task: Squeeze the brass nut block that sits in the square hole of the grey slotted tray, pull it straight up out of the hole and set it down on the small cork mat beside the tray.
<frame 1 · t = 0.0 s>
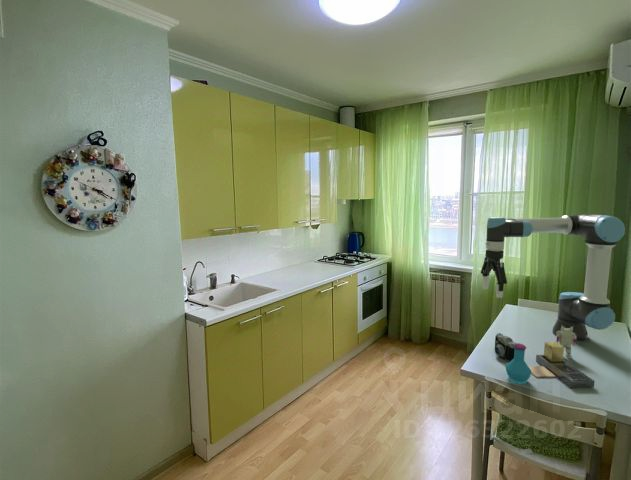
hand: (492, 293, 168), 28 cm above the table, fingers open, 13 cm apart
grey slotted tray: (562, 373, 147), on the table
cork mat: (539, 372, 148), on the table
nut block: (552, 365, 154), resting in grey slotted tray
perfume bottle: (517, 379, 143), on the table
camera: (502, 356, 163), on the table
figurine: (563, 356, 162), on the table
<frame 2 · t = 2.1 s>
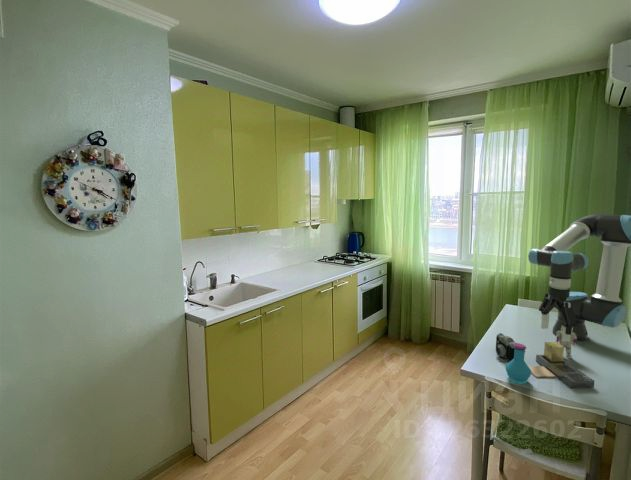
hand: (554, 334, 151), 15 cm above the table, fingers open, 13 cm apart
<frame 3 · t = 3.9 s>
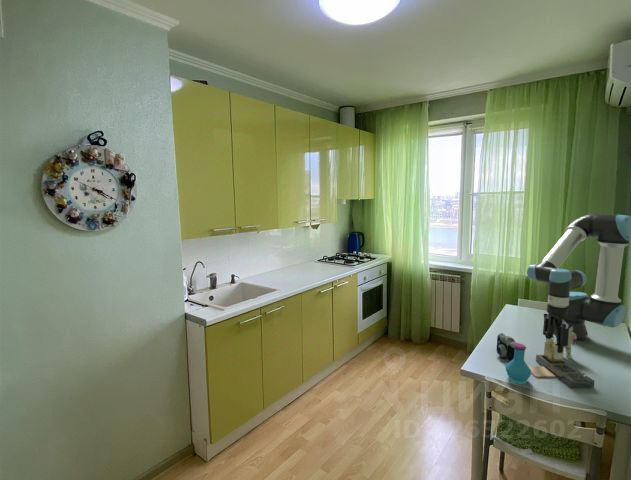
hand: (553, 355, 153), 5 cm above the table, fingers closed on nut block, 5 cm apart
nut block: (552, 365, 154), resting in grey slotted tray, touching gripper
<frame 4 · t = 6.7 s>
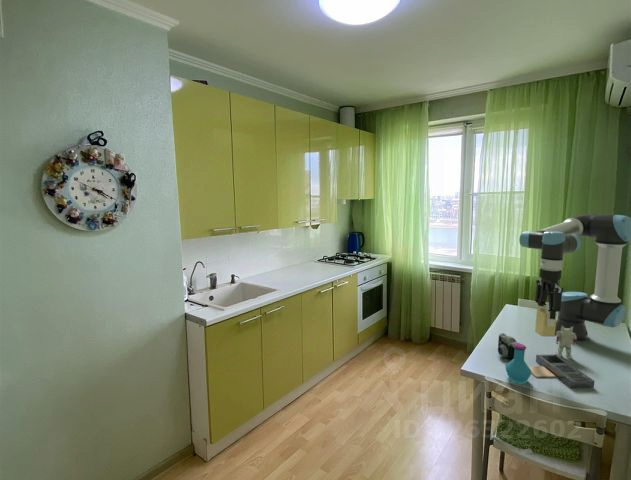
hand: (545, 323, 146), 22 cm above the table, fingers closed on nut block, 5 cm apart
nut block: (544, 334, 147), point 17 cm above the table, touching gripper
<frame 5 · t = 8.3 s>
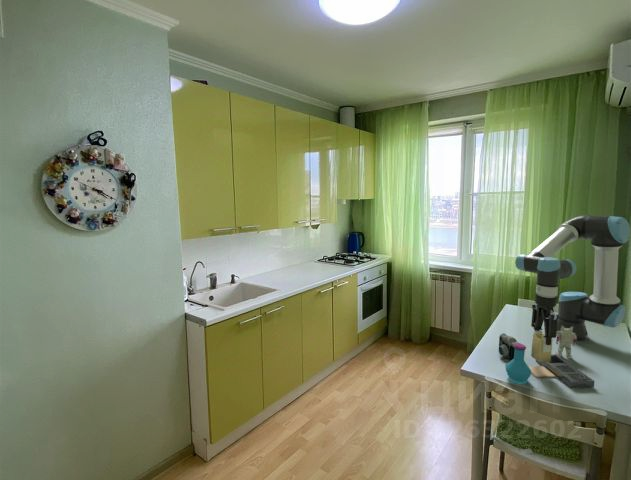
hand: (541, 348, 147), 11 cm above the table, fingers closed on nut block, 5 cm apart
nut block: (540, 358, 147), point 6 cm above the table, touching gripper
when the fingers open (7 cm above the table, at t = 9.6 s): nut block drops 2 cm, resting on cork mat.
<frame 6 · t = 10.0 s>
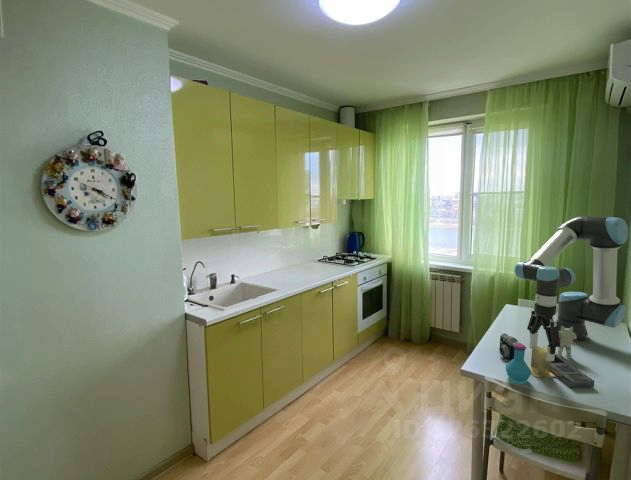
hand: (541, 354, 147), 8 cm above the table, fingers open, 10 cm apart
nut block: (540, 371, 148), point 1 cm above the table, touching cork mat
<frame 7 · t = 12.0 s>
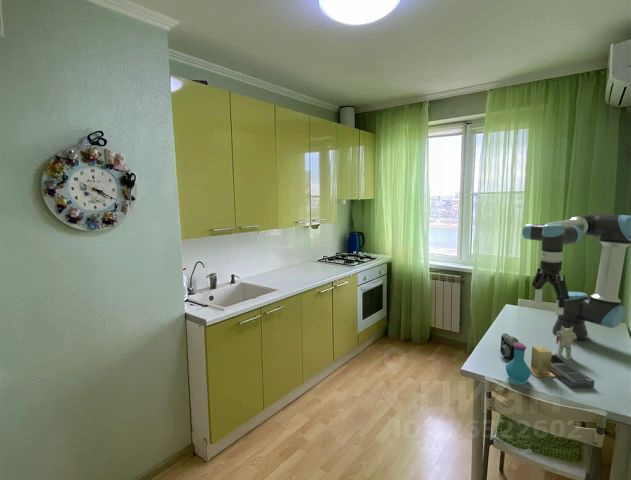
hand: (548, 308, 150), 26 cm above the table, fingers open, 13 cm apart
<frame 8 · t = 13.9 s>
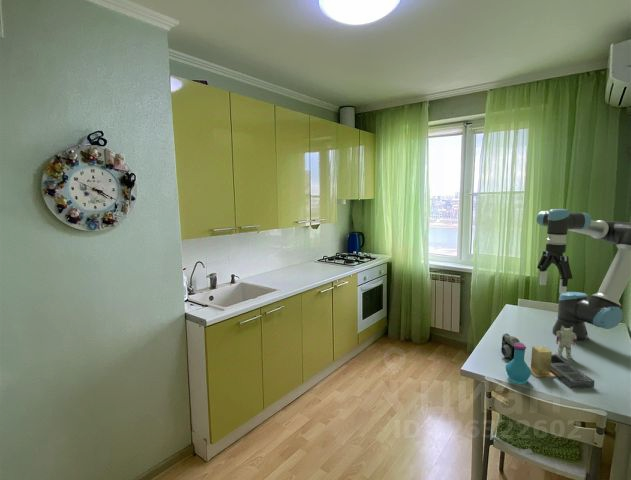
hand: (552, 288, 160), 32 cm above the table, fingers open, 13 cm apart
at the end: nut block inside the target area on the cork mat (0.0 cm from its centre), point 0.6 cm above the cork mat's base; nut block tilted 0°; the gripper is holding nothing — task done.
